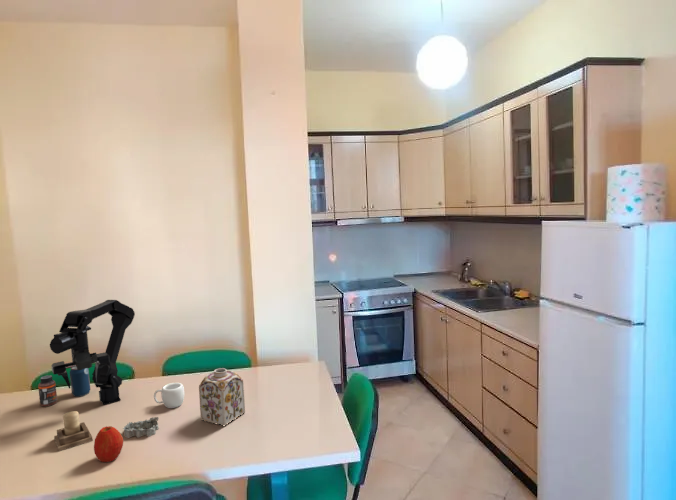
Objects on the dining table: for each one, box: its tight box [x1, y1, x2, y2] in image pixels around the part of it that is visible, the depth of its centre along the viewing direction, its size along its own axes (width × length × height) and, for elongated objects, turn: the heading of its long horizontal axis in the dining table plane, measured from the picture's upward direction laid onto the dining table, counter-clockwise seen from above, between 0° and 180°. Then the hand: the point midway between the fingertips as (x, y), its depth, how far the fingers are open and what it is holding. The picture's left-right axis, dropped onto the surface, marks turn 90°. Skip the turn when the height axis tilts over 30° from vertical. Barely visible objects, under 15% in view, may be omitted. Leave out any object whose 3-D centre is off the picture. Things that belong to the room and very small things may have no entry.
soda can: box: [69, 367, 91, 398], centre depth 195 cm, size 7×7×12 cm
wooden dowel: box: [62, 410, 81, 436], centre depth 157 cm, size 4×4×8 cm
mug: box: [153, 382, 185, 409], centre depth 182 cm, size 12×8×8 cm
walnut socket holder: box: [53, 422, 94, 452], centre depth 157 cm, size 10×10×3 cm
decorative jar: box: [198, 367, 246, 426], centre depth 170 cm, size 12×12×18 cm
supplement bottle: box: [37, 374, 58, 407], centre depth 187 cm, size 6×6×11 cm
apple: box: [93, 425, 124, 463], centre depth 145 cm, size 8×8×11 cm
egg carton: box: [122, 416, 159, 439], centre depth 161 cm, size 11×8×4 cm
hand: (83, 384), depth 175 cm, fingers open, 9 cm apart
